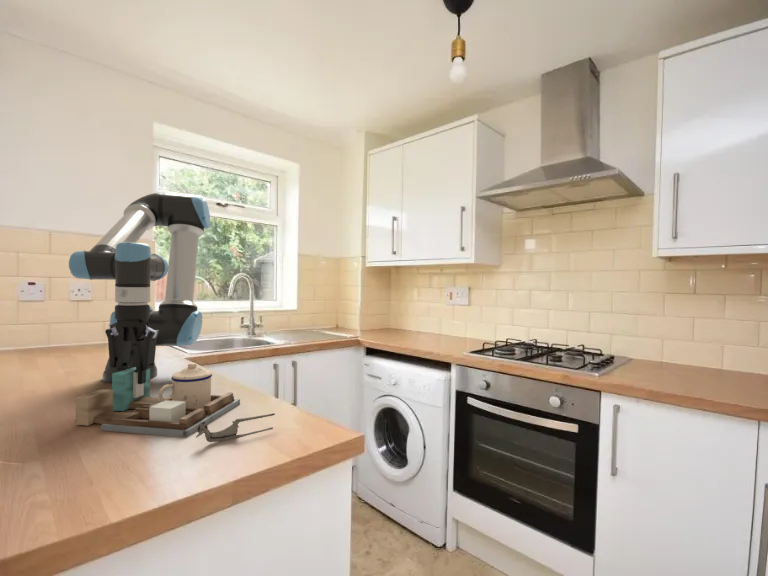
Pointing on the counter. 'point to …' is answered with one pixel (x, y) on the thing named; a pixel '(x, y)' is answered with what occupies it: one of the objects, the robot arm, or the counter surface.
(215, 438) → the nutcracker
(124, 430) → the lane rails
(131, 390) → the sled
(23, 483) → the counter surface
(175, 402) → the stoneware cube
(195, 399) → the teacup with lid
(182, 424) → the sled
